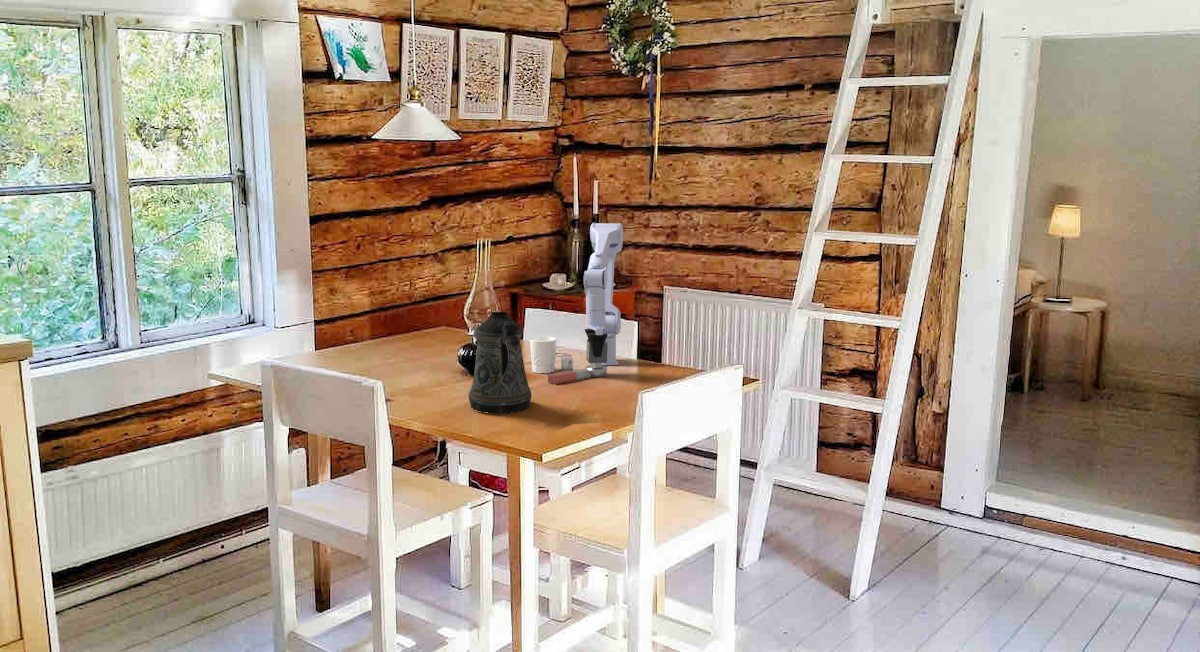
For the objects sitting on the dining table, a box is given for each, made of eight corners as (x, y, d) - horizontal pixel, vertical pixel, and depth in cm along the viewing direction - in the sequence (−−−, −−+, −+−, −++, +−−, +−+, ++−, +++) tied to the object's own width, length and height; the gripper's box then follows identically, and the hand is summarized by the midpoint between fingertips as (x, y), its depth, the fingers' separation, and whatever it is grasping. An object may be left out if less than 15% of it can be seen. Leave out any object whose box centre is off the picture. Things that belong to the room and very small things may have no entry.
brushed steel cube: (586, 359, 299) (586, 339, 298) (604, 359, 300) (604, 339, 299) (588, 363, 294) (589, 343, 293) (606, 362, 295) (607, 342, 294)
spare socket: (560, 370, 304) (560, 358, 303) (572, 370, 305) (572, 357, 304) (561, 373, 301) (561, 360, 300) (573, 373, 301) (573, 360, 300)
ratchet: (597, 371, 302) (597, 354, 301) (611, 375, 298) (611, 357, 297) (544, 381, 290) (544, 363, 289) (557, 385, 285) (557, 366, 284)
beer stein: (497, 395, 275) (495, 305, 270) (553, 405, 264) (551, 312, 259) (455, 408, 262) (452, 314, 257) (512, 419, 251) (510, 321, 246)
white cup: (552, 374, 299) (552, 342, 297) (527, 373, 301) (526, 341, 299) (559, 369, 307) (558, 337, 305) (534, 368, 308) (533, 336, 306)
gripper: (613, 313, 288) (613, 359, 290) (605, 305, 302) (605, 349, 305) (588, 313, 287) (589, 360, 289) (582, 305, 301) (582, 350, 303)
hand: (596, 354), depth 297 cm, fingers closed on brushed steel cube, 5 cm apart
